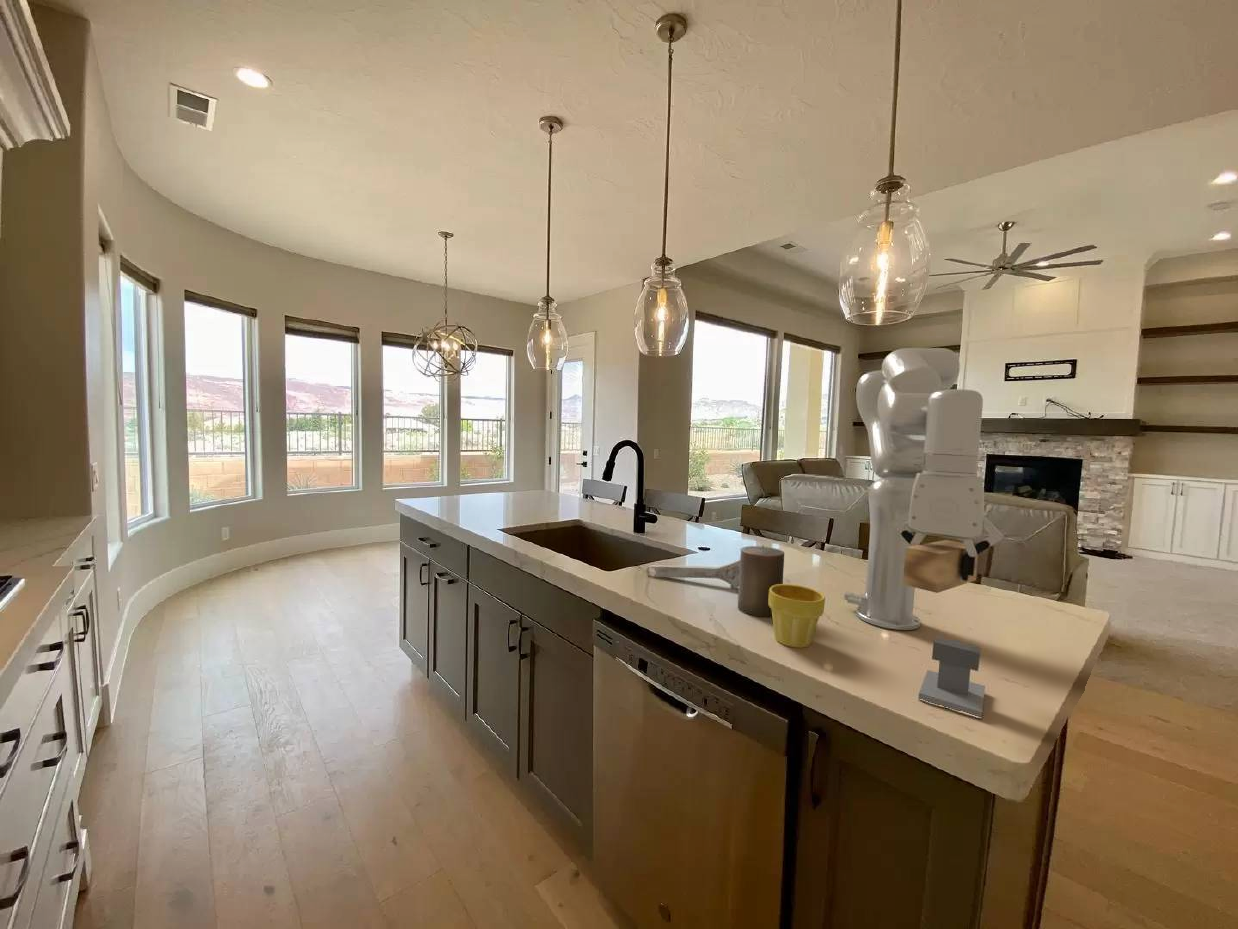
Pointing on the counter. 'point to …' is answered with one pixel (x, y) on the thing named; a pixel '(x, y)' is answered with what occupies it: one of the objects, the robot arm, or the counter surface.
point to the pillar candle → (758, 578)
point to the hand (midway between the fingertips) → (941, 574)
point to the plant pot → (795, 613)
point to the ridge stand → (954, 677)
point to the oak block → (936, 566)
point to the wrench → (700, 572)
